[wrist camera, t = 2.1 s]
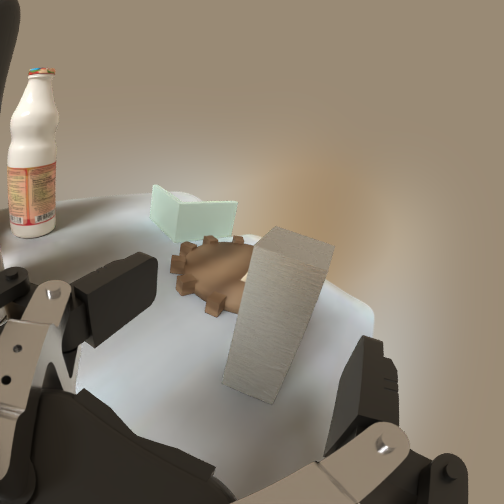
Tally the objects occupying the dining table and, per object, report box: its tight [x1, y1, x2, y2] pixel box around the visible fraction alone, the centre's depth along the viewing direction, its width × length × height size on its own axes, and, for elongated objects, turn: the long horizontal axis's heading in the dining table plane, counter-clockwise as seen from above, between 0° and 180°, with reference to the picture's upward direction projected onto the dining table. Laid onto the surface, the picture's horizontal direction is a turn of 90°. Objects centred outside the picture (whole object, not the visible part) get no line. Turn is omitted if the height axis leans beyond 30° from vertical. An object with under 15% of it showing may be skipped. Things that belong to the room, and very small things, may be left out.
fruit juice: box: [7, 68, 59, 238], centre depth 36 cm, size 9×9×28 cm
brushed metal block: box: [222, 226, 335, 404], centre depth 24 cm, size 5×5×14 cm
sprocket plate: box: [170, 235, 254, 317], centre depth 43 cm, size 22×22×2 cm
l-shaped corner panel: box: [150, 185, 238, 243], centre depth 55 cm, size 12×12×8 cm
